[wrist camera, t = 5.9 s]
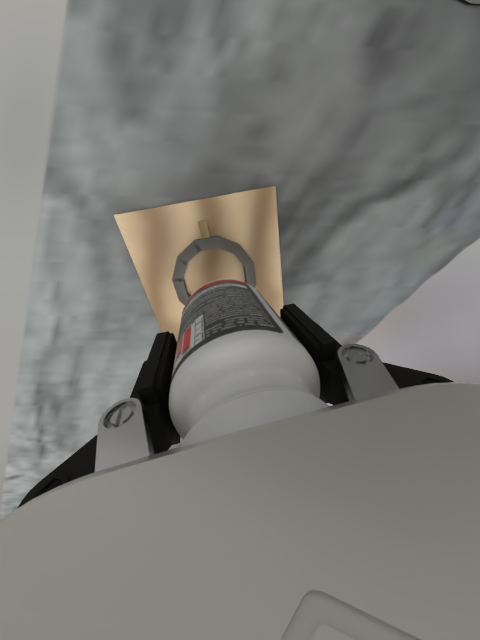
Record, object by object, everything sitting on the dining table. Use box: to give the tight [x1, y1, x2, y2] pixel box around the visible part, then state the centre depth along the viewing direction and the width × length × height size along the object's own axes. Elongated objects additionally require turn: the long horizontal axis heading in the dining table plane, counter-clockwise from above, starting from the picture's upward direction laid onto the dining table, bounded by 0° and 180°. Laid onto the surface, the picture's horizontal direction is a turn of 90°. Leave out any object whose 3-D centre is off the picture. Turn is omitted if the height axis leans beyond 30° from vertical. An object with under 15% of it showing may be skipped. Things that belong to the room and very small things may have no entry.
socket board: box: [114, 186, 283, 341], centre depth 26 cm, size 18×18×2 cm
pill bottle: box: [169, 279, 329, 447], centre depth 9 cm, size 6×6×10 cm
